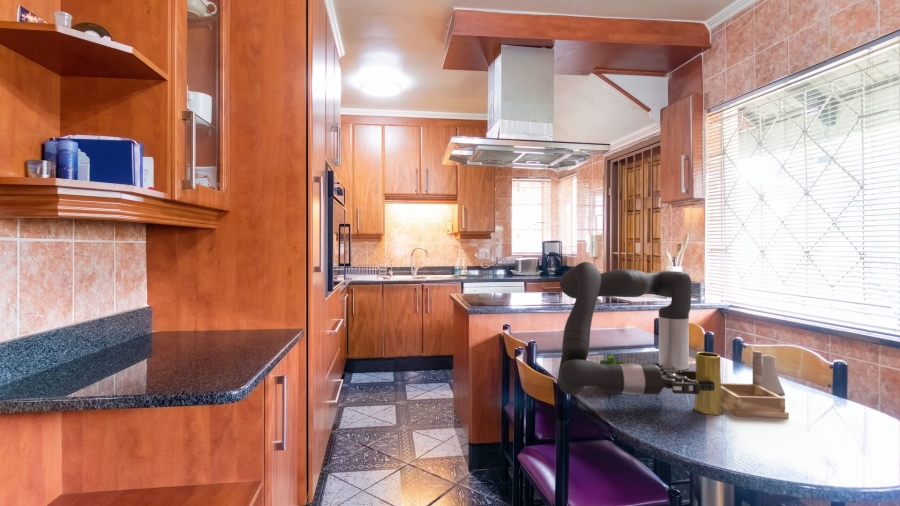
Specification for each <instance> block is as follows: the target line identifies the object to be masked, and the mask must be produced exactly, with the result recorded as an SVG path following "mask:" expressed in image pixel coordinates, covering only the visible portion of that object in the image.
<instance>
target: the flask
mask: <svg viewBox="0 0 900 506" xmlns="http://www.w3.org/2000/svg"><path fill="white" fill-rule="evenodd" d="M776 359H777V357H775V356H773V355H766V354H765V355H762V387H763V388H765V389H767V390H769V391H771V392H773V393H775V394H777V395H779V396H780V395H785V394H786V393H785V391H784V389H783V386H782V384H781V381H780V379H779V377H778V373H777V371H776V365H775V361H776Z"/></svg>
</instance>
